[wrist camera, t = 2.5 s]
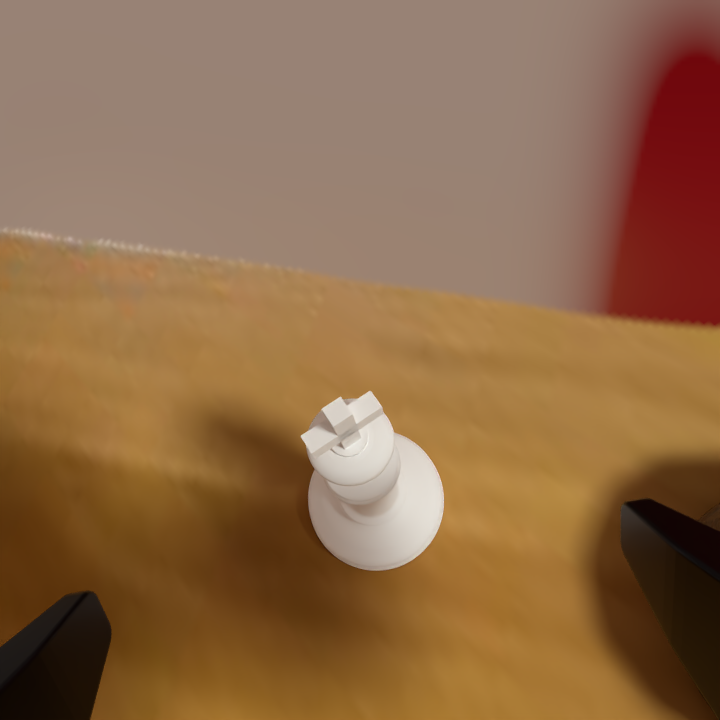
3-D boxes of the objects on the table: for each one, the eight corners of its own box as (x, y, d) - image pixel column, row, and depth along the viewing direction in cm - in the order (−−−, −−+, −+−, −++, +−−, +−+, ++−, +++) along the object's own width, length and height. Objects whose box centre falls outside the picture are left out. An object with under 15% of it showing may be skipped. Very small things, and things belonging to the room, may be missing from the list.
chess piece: (471, 517, 18) (525, 444, 9) (355, 600, 18) (289, 611, 8) (392, 408, 20) (373, 259, 11) (285, 479, 19) (169, 383, 10)
